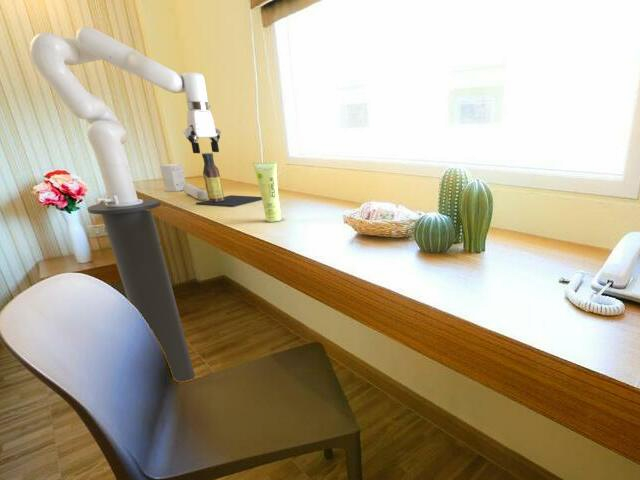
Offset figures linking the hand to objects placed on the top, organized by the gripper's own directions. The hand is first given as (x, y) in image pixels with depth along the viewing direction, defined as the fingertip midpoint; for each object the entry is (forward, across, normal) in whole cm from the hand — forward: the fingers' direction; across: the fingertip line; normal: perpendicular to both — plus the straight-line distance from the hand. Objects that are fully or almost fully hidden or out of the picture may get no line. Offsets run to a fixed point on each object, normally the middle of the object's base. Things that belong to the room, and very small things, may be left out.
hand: (206, 152), depth 162 cm
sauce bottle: (+20, 0, +1) cm, 20 cm away
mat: (+20, -5, +5) cm, 22 cm away
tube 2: (+20, +21, +48) cm, 56 cm away
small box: (+21, -23, -49) cm, 58 cm away
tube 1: (+21, -8, -20) cm, 30 cm away
